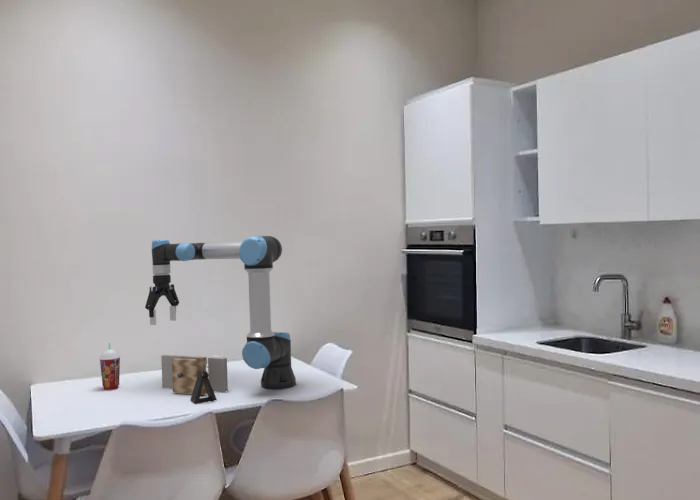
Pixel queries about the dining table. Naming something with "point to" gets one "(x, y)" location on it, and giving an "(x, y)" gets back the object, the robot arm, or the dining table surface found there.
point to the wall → (215, 371)
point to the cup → (215, 356)
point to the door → (187, 374)
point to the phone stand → (198, 387)
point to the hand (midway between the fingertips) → (163, 322)
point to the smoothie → (110, 369)
